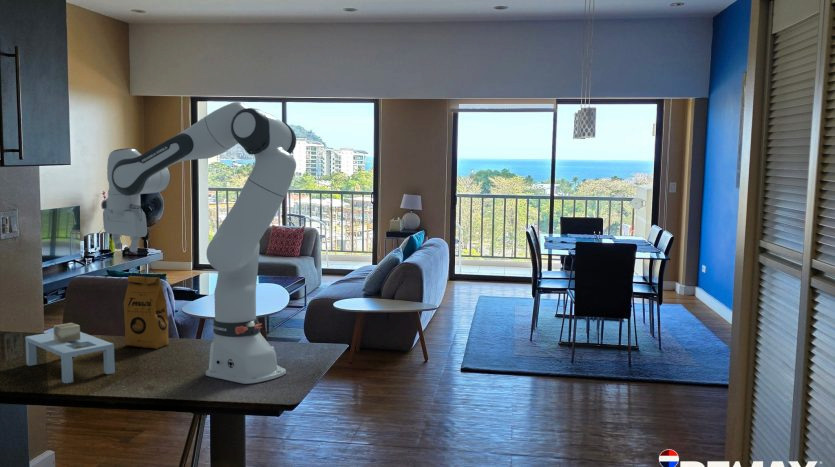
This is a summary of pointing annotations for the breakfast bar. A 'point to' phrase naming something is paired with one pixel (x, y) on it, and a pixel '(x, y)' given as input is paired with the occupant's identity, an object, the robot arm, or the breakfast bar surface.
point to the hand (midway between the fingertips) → (125, 250)
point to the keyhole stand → (70, 351)
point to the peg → (66, 332)
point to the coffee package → (145, 313)
